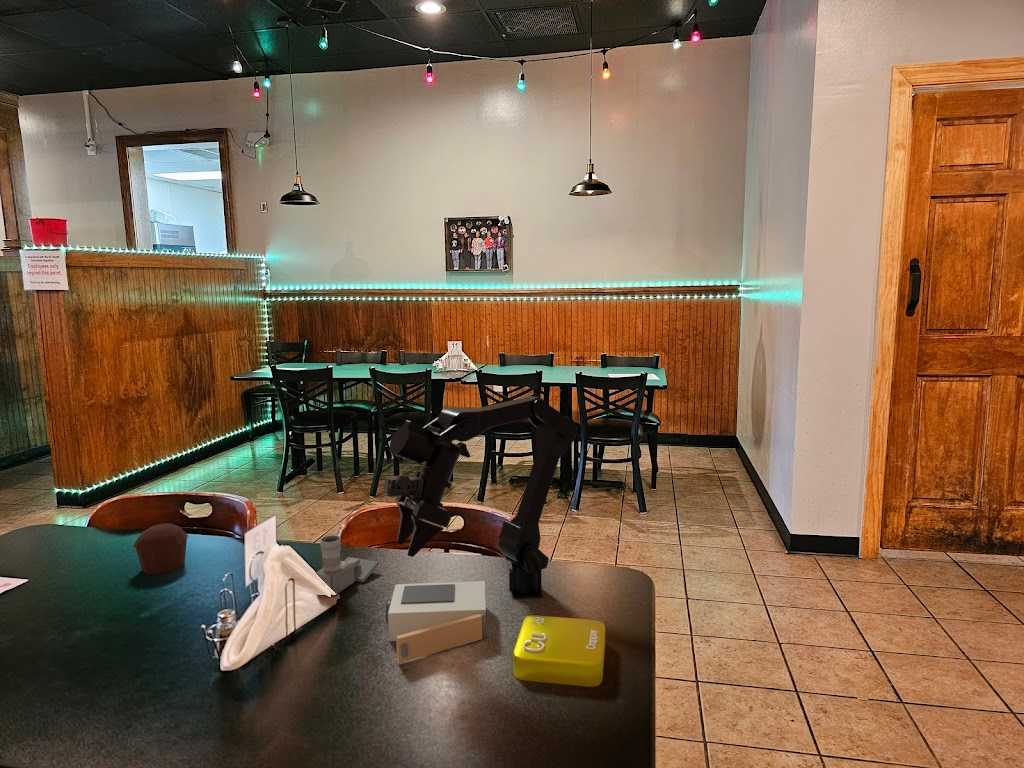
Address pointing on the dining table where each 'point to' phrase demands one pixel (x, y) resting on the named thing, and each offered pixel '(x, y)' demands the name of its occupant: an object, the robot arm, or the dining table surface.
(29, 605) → the dining table surface
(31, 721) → the dining table surface
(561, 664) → the element tile
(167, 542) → the muffin
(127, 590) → the dining table surface
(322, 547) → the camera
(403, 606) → the white box
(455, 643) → the side door
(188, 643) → the dining table surface
